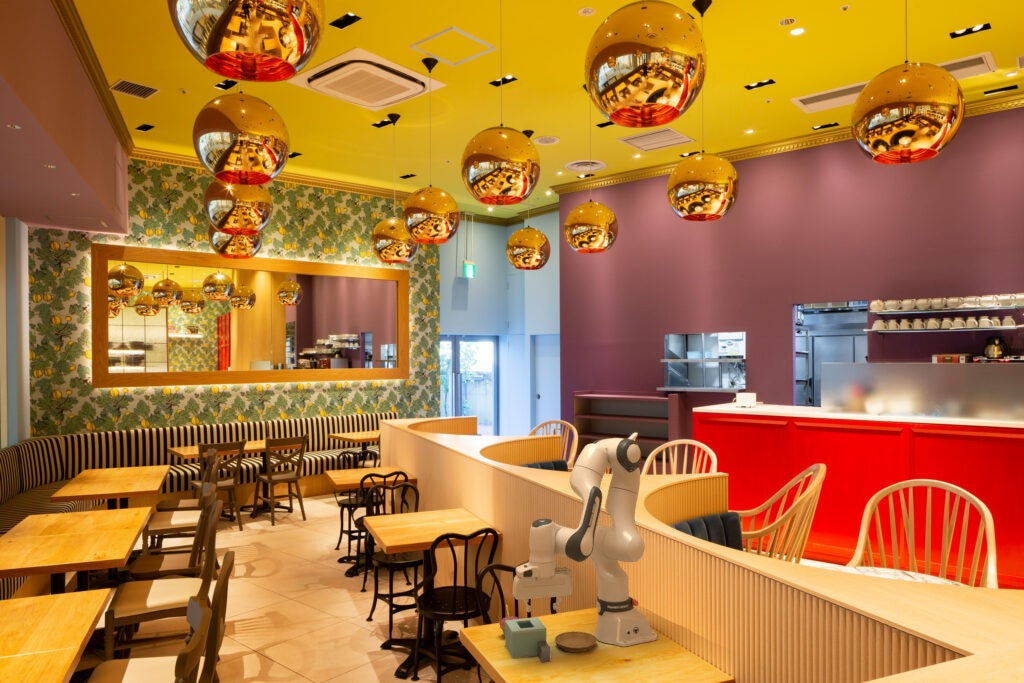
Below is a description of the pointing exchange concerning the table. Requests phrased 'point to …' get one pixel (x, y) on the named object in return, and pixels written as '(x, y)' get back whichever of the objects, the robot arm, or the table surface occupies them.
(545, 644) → the block
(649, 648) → the table surface
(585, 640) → the plant saucer
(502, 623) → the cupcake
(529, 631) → the coin box
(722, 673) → the table surface
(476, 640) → the table surface
